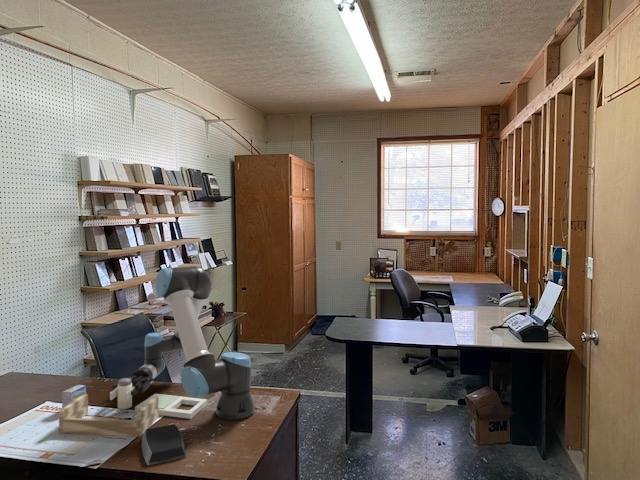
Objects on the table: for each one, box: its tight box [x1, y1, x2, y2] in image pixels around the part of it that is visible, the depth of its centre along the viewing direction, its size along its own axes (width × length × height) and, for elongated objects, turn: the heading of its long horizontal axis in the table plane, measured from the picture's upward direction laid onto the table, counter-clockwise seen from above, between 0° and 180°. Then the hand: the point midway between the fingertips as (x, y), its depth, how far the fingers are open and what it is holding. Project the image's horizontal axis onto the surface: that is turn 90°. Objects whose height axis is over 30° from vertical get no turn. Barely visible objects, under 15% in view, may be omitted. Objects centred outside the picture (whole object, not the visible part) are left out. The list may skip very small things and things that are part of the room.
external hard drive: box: [141, 423, 187, 466], centre depth 147 cm, size 13×19×4 cm
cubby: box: [58, 393, 159, 437], centre depth 162 cm, size 16×29×8 cm, turn 88°
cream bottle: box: [117, 377, 133, 410], centre depth 173 cm, size 5×5×10 cm
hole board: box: [134, 393, 209, 420], centre depth 177 cm, size 24×14×2 cm, turn 78°
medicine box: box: [61, 384, 87, 409], centre depth 174 cm, size 8×4×9 cm, turn 168°
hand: (118, 396), depth 168 cm, fingers closed on cream bottle, 5 cm apart
